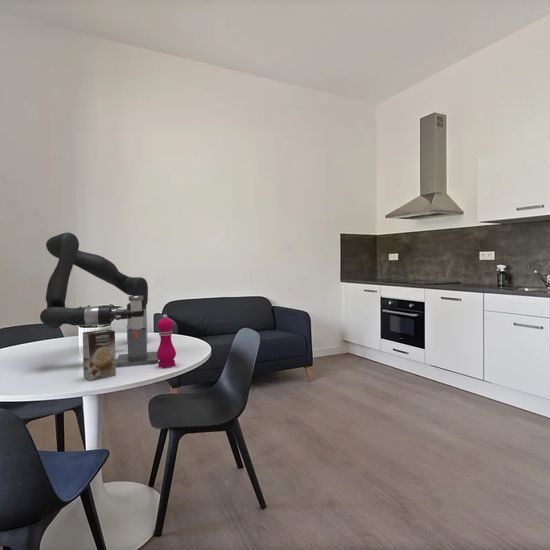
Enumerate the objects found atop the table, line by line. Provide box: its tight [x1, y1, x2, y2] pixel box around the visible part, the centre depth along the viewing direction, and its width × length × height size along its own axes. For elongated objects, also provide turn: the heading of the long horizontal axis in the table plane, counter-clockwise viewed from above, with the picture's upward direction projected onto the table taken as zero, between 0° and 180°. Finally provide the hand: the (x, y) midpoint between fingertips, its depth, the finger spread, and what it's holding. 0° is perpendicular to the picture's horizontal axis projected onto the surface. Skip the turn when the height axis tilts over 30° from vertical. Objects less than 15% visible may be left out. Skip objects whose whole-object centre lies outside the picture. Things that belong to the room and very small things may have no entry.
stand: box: [116, 327, 159, 368], centre depth 162 cm, size 16×16×13 cm
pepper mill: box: [156, 314, 177, 369], centre depth 152 cm, size 7×7×20 cm
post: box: [128, 295, 143, 331], centre depth 161 cm, size 6×6×24 cm
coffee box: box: [82, 329, 117, 381], centre depth 140 cm, size 9×6×16 cm
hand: (143, 313), depth 162 cm, fingers closed on post, 4 cm apart
